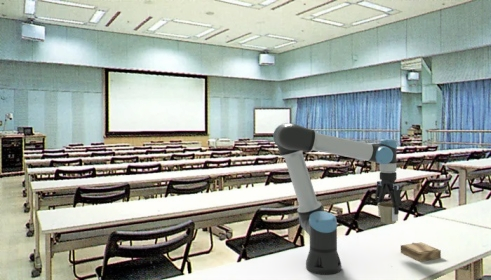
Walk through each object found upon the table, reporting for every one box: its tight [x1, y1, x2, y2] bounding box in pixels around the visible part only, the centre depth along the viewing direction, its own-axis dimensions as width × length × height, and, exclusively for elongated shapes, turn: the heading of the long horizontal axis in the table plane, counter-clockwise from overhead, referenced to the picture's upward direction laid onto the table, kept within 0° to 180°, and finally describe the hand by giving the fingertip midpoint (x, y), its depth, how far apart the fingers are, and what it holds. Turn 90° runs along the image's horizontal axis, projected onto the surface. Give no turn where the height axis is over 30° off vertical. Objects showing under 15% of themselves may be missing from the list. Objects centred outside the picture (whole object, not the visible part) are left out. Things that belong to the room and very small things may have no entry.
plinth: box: [400, 242, 442, 262], centre depth 177 cm, size 12×12×4 cm
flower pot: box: [377, 202, 396, 225], centre depth 181 cm, size 9×9×9 cm
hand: (387, 218), depth 181 cm, fingers closed on flower pot, 9 cm apart
